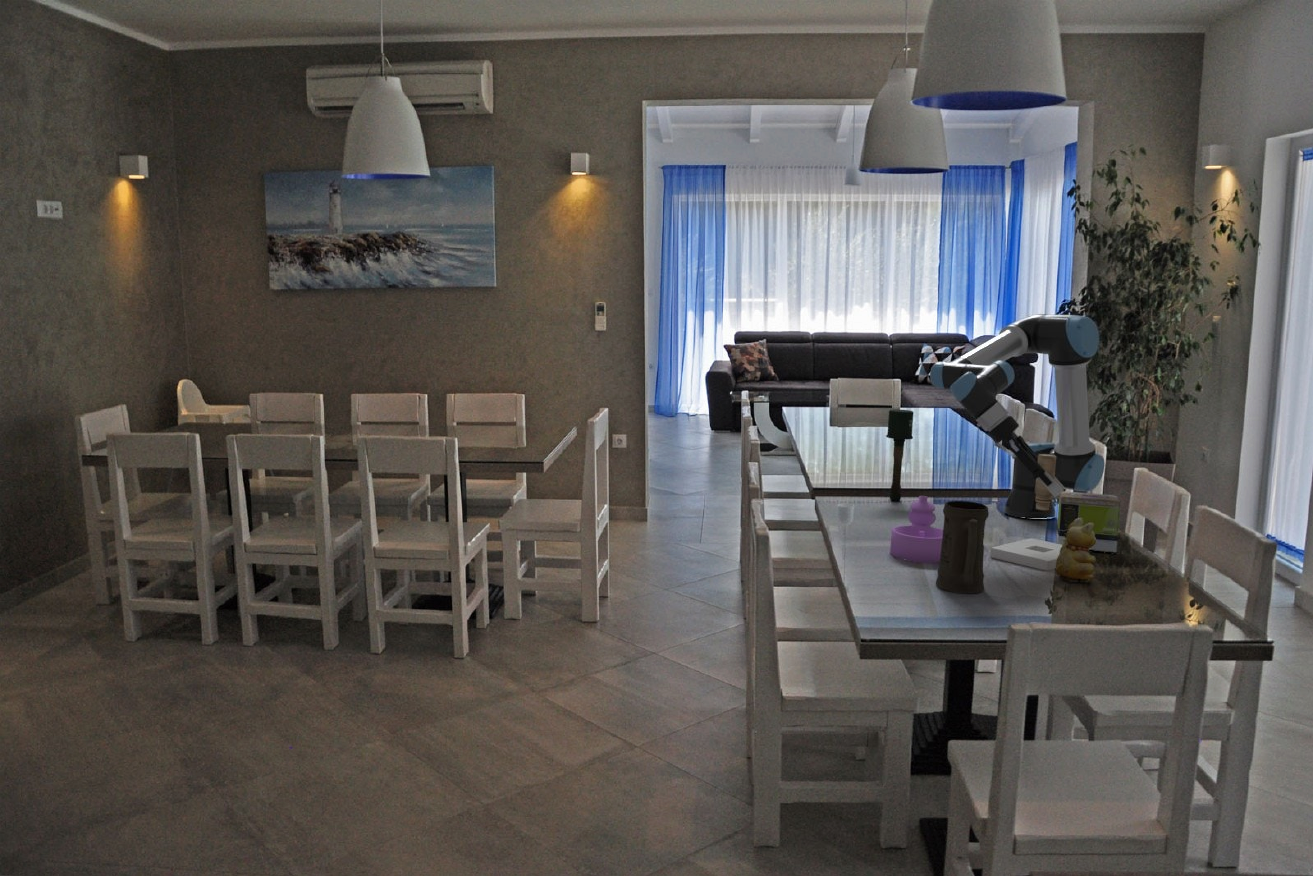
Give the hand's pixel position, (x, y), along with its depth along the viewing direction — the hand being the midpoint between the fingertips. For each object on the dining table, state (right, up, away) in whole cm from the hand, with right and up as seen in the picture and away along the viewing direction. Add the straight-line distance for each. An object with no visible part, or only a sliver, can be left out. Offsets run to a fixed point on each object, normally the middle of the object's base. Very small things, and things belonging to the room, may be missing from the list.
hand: (1059, 492), depth 264 cm
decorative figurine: (-3, -20, -16) cm, 26 cm away
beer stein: (-33, -21, -29) cm, 49 cm away
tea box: (+14, -16, +18) cm, 28 cm away
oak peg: (-4, -4, +2) cm, 6 cm away
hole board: (-4, -17, +4) cm, 18 cm away
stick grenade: (-25, -7, +76) cm, 81 cm away
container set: (-34, -16, +8) cm, 38 cm away
